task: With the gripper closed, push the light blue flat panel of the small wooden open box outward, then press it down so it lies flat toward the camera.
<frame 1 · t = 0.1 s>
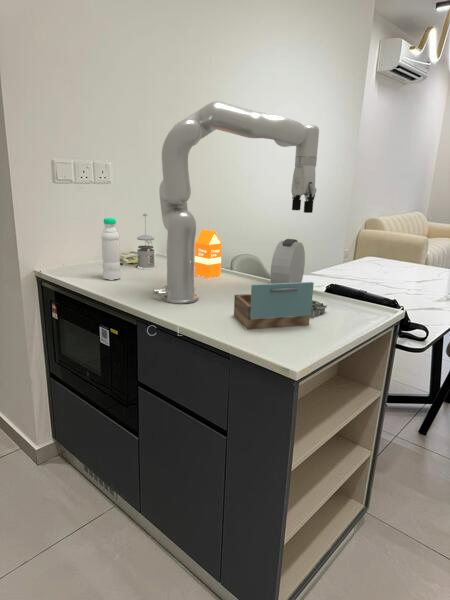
hand: (301, 211, 162), 31 cm above the worktop, fingers open, 9 cm apart
water bottle: (112, 279, 184), on the worktop
orange juice: (207, 276, 196), on the worktop
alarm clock: (286, 288, 179), on the worktop
egg carton: (309, 314, 148), on the worktop
light blue flat panel: (282, 300, 129), point 9 cm above the worktop, hinge at 0.0°
french press: (146, 267, 209), on the worktop
wooden open box: (271, 320, 138), on the worktop
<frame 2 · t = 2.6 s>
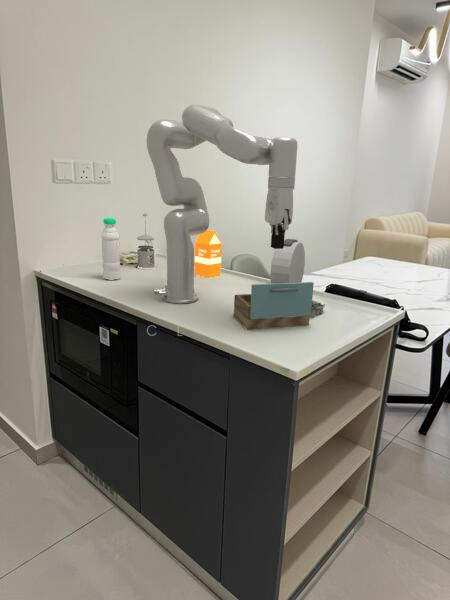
hand: (277, 247, 131), 23 cm above the worktop, fingers closed
nothing on the worktop moved.
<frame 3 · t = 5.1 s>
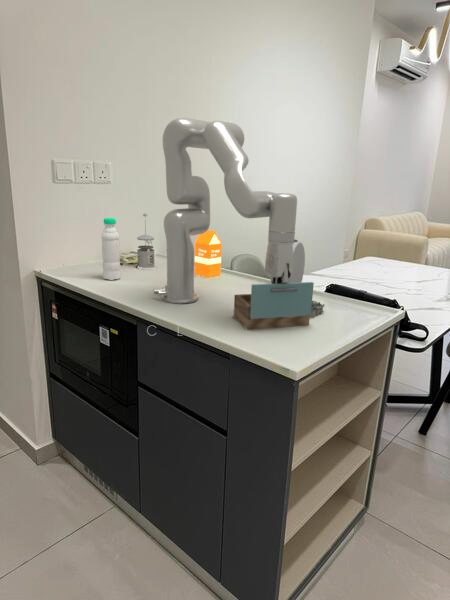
hand: (277, 298, 133), 8 cm above the worktop, fingers closed
light blue flat panel: (282, 300, 129), point 9 cm above the worktop, hinge at 0.0°, touching gripper
everything else where it was.
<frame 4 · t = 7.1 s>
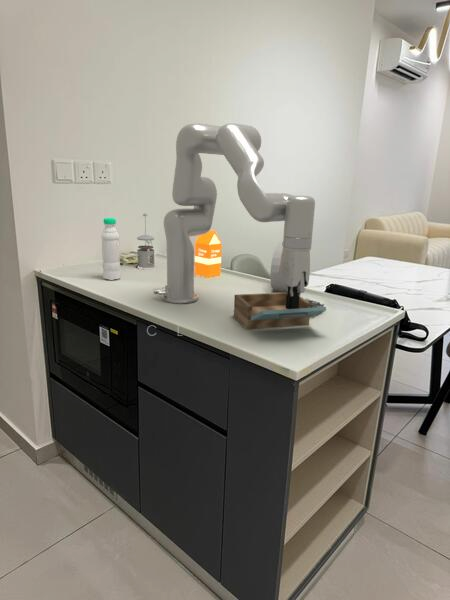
hand: (291, 308, 123), 8 cm above the worktop, fingers closed
light blue flat panel: (288, 315, 126), point 6 cm above the worktop, hinge at 61.8°, touching gripper
everything else where it was.
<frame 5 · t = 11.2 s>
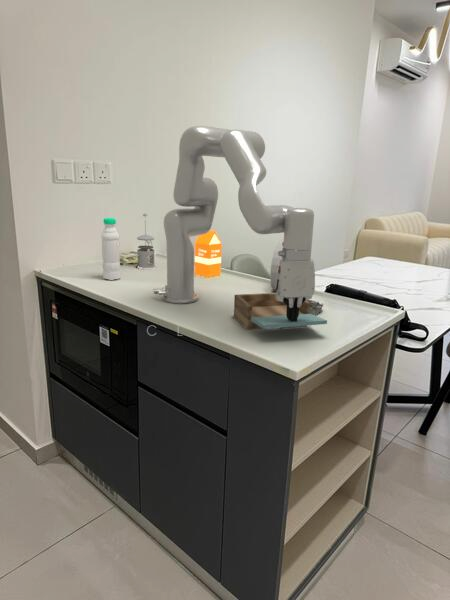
hand: (292, 319, 124), 5 cm above the worktop, fingers closed
light blue flat panel: (288, 322, 126), point 4 cm above the worktop, hinge at 83.4°
everything else where it was.
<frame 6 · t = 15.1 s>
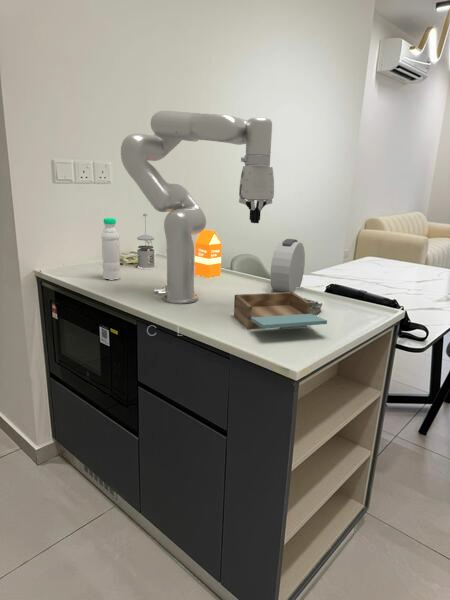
hand: (254, 222, 140), 29 cm above the worktop, fingers closed
at the end: light blue flat panel at +83° (first picture: +0°); egg carton moved 1.3 cm from its start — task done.
